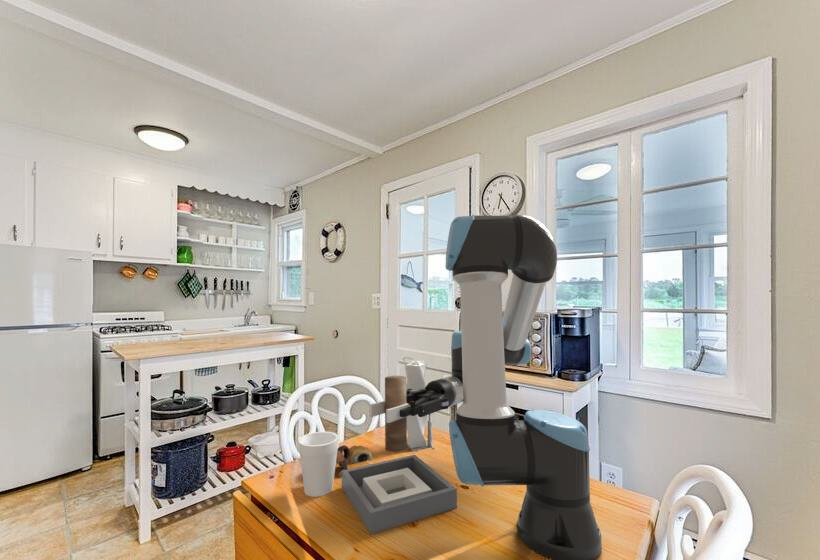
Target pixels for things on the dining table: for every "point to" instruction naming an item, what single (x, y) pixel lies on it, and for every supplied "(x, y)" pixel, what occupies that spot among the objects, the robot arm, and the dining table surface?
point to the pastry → (359, 454)
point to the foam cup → (318, 461)
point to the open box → (402, 510)
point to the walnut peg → (398, 428)
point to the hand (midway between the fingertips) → (378, 413)
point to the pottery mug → (342, 458)
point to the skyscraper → (415, 423)
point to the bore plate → (393, 487)
